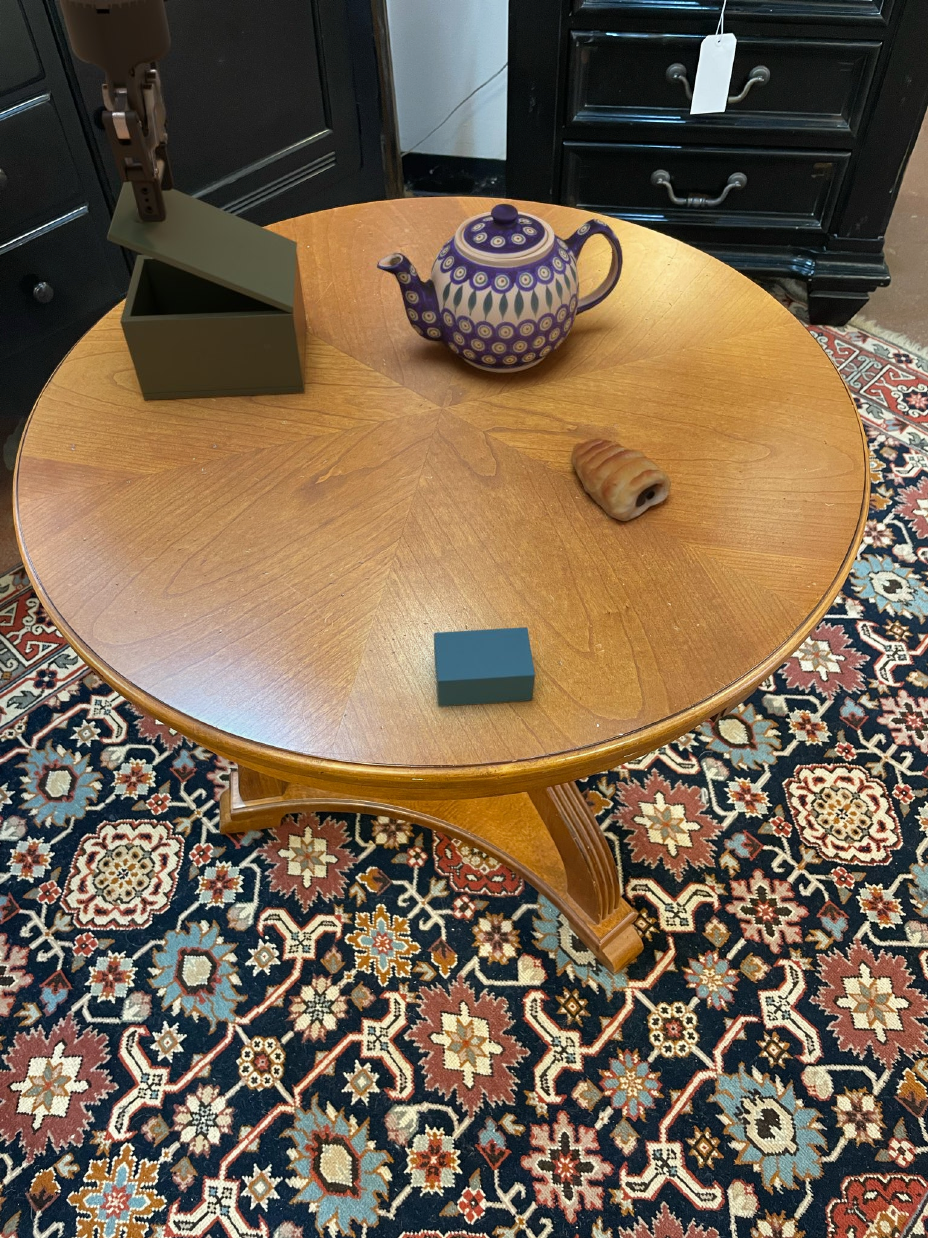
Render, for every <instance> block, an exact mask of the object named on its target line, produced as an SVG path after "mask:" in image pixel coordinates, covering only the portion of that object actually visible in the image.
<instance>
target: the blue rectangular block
mask: <svg viewBox="0 0 928 1238" xmlns="http://www.w3.org/2000/svg"><path fill="white" fill-rule="evenodd" d="M529 634H530V633H529V629H528V626H523V627H507V628H506V627H505V628H493V629H492V628H491V629H474V630H473V629H472V630H471V629H470V630H458V631H456V630H455V631H441V632H434V633H433V654H434V656H433V657H434V669H435V681H436V682H435V683H436V694H437V695H436V696H437V707H453V706H466V705H467V706H469V705H481V704H484V705H485V704H497V703H499V704H500V703H513V702H529V701H533V700H534V699H533V698H534V691H535V690H534V688H535V678H536V672H535V666H534V659H533V653H532V646H531V640H530V636H529Z"/></svg>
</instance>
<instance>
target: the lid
mask: <svg viewBox="0 0 928 1238" xmlns="http://www.w3.org/2000/svg"><path fill="white" fill-rule="evenodd" d="M155 155H156V161H157V168H158V169H159V174H158V176H159V180H160V185H161V182H162V178H163V174H164V170H165V161H164V159H163V158H162V156H160V155H159V154H157V153H155ZM162 194H163V198H164V203H165V207H166V212H167V215H166V219H165V220H164V221H163V222H144V221H142V220H141V219H140V216H139V212H138V208H137V204H136V200H135V196H134V192H133V188H132V183H131V182H122V188H121V190H120V193H119V197H118V201H117V203H116V206H115V210H114V213H113V215H112V220H111V223H110V227H109V229H108V232H107V236H106V240H107V241H110V242H112V243H115V244H117V245H119V246H121V247H124V248H127V249H129V250H132V251H134V252H137V253H139V254H141V255H147V256H149V257H152V258H154V259H157V260H159V261H162V262H164V263H167V264H169V265H172V266H174V267H177V268H179V269H182V270H184V271H187V272H189V273H192V274H194V275H197V276H199V277H202V278H204V279H207V280H209V281H212V282H214V283H217V284H219V285H222V286H224V287H227V288H229V289H232V290H234V291H237V292H239V293H242V294H244V295H247V296H249V297H252V298H254V299H257V300H259V301H262V302H264V303H267V304H269V305H272V306H274V307H277V308H279V309H282V310H284V311H287V312H289V313H291V312H292V310H293V306H294V288H295V271H296V253H297V254H298V242H297V241H294V240H292V239H290V238H288V237H286V236H283V235H281V234H279V233H276V232H275V231H272V230H269V229H267V228H265V227H262V226H260V225H258V224H256V223H253V222H251V221H248V220H246V219H244V218H242V217H240V216H237V215H235V214H233V213H230V212H229V211H225V210H223V209H222V208H218V207H216V206H214V205H212V204H209V203H207V202H205V201H202V200H200V199H198V198H195V197H193V196H191V195H188V194H186V193H184V192H181V191H180V190H178V189H175V188H172V189H171V190H169V191H162Z"/></svg>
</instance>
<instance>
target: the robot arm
mask: <svg viewBox="0 0 928 1238" xmlns="http://www.w3.org/2000/svg"><path fill="white" fill-rule="evenodd" d="M59 4H60V7H61V12H62V16H63V19H64V24H65V26H66V30H67V34H68V38H69V43H70V46H71V49H72V52H73V53H74V55H75V56H76V57H77V58H78V59H79V60H80V61H82V62H83V63H86V64H88V65H93V66H97V67H98V68H100V69H102V70H103V71H104V74H105V83H102V85H101V91H102V92H101V93H102V98H103V103H104V104H103V105H104V106H105V108H106V109H107V110H102V112H101V113H102V115H101V121H102V124H103V126H104V129H105V133H106V135H107V138H108V141H109V144H110V147H111V152H112V154H113V157H114V161H115V163H116V167H117V170H118V175H119V177H120V180H121V182H122V183H124V182H131V183H132V188H133V192H134V196H135V200H136V204H137V208H138V212H139V216H140V219H141V220H142V221H144V222H163V221H164V220H165V219H166V215H167V212H166V207H165V203H164V198H163V194H162V191H169V190H171V189H174V188H173V187H174V184H175V182H174V177H173V172H172V167H171V162H170V158H169V157H170V156H169V153H168V149H167V144H168V140H169V135H168V133H167V131H166V129H168V128H169V123H170V122H169V121H170V120H169V116H168V115H167V108H166V101H165V97H164V91H163V84H162V78H161V73H160V72H161V71H160V65H159V60H160V59H162V58H163V57H164V56H165V55H167V54H168V52H169V51H170V49H171V46H172V38H171V34H170V29H169V24H168V23H169V22H168V18H167V13H166V8H165V2H164V0H59ZM155 153H157V154H159V155H160V156H162V158H163V159H164V161H165V170H164V174H163V178H162V182H161V185H160V180H159V176H158V174H159V169H158V168H157V161H156V155H155ZM133 159H138V160H140V162H137V163H134V162H133Z"/></svg>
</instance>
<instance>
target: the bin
mask: <svg viewBox="0 0 928 1238" xmlns="http://www.w3.org/2000/svg"><path fill="white" fill-rule="evenodd" d="M298 256H299V255H298V252H297V253H296V271H295V288H294V306H293V310H292V312H291V313H289V312H287V311H284V310H282V309H279V308H277V307H274V306H272V305H269V304H267V303H264V302H262V301H259V300H257V299H254V298H252V297H249V296H247V295H244V294H242V293H239V292H237V291H234V290H232V289H229V288H227V287H224V286H222V285H219V284H217V283H214V282H212V281H209V280H207V279H204V278H202V277H199V276H197V275H194V274H192V273H189V272H187V271H184V270H182V269H179V268H177V267H174V266H172V265H169V264H167V263H164V262H162V261H159V260H157V259H154V258H152V257H149V256H147V255H144V254H137V255H136V259H135V263H134V268H133V271H132V274H131V278H130V283H129V286H128V290H127V294H126V299H125V302H124V306H123V309H122V312H121V313H122V314H121V318H120V326H121V329H122V332H123V335H124V338H125V343H126V345H127V349H128V351H129V354H130V358H131V361H132V365H133V368H134V371H135V374H136V377H137V380H138V384H139V388H140V391H141V394H142V397H143V400H144V401H156V400H157V401H159V400H178V399H179V400H180V399H200V398H203V399H204V398H222V397H224V398H225V397H244V396H246V397H247V396H267V395H268V396H270V395H288V394H289V395H290V394H305V391H306V389H305V387H306V364H307V362H306V361H307V339H308V337H307V336H308V323H307V316H306V307H305V300H304V293H303V285H302V278H301V271H300V264H299V257H298Z"/></svg>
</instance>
